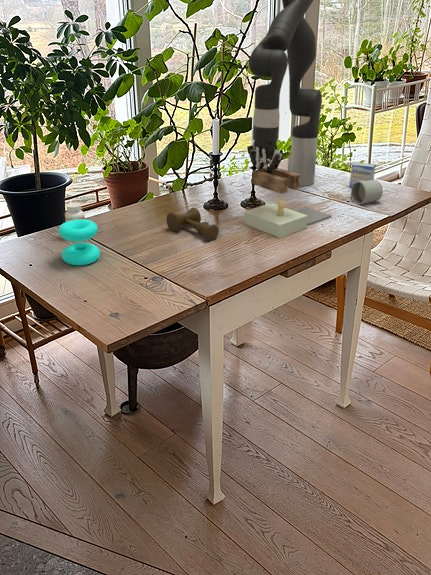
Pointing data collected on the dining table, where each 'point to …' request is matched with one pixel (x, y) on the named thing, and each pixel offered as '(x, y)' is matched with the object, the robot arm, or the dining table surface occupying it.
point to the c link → (276, 180)
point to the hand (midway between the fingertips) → (263, 181)
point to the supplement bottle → (74, 212)
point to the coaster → (313, 215)
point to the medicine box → (361, 172)
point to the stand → (275, 219)
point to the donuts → (79, 251)
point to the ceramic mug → (366, 191)
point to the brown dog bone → (192, 224)
